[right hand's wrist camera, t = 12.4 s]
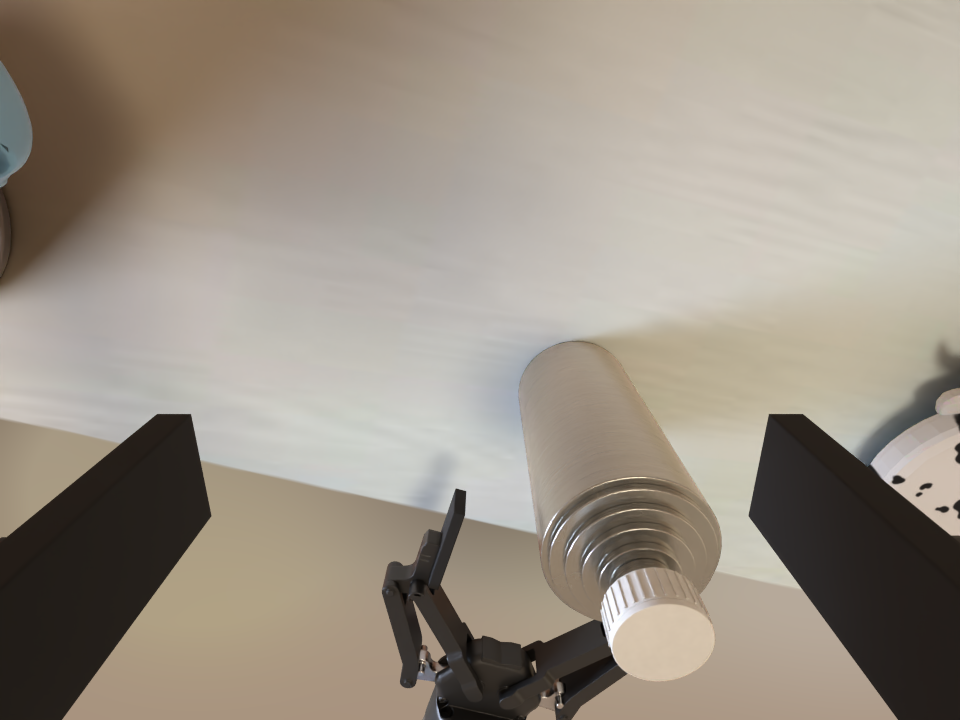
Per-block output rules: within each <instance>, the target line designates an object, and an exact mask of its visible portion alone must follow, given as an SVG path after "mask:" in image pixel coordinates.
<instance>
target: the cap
mask: <svg viewBox="0 0 960 720" xmlns="http://www.w3.org/2000/svg"><path fill="white" fill-rule="evenodd" d="M601 604H602V610H601V615H602V621H603V625H604V629H605V633H606V637H607V641H608V645H609V647H611V651H612V654H613V657H614V659H615V661H616V662H617V664H618V665H619V666H620V667H621V668H622V669H623V670H624V671H625V672H626V673H628V674H630V675H632V676H634V677H636V678H639V679H642V680H647V681H669V680H674V679H678V678H681V677H683V676H686V675H688V674H690V673H692V672H694V671H695V670H697V669H698V668H699V667H701V666H702V665H703V664H704V663H705V662H706V661H707V659H708V658H709V657H710V655H711V653H712V651H713V648H714V645H715V632H714V629H713V626H712V621H711V619H710V617H709V614H708V612H707V610H706V608H705V605H704V603H703V601H702V599H701V597H700V595H699V593H698V591H697V589H696V587H695V588H694V586H693V584H692V582H691V581H689V580H688V579H687V578H686V577H685V576H684V575H683V576H682V575H681V574H679V573H677V571H673V570H670V569H666V568H657V567H650V568H643V569H638V570H634V571H632V572H630V573H628V574H625V575H624V576H622V577H620V578H619V579H617V580H616V581H615V582H614V583H613V584H612V585H611V586H610V587H609V589H608V590H607V592H606V594H604V599H603V602H601Z"/></svg>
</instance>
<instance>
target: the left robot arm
mask: <svg viewBox="0 0 960 720" xmlns="http://www.w3.org/2000/svg"><path fill="white" fill-rule="evenodd" d="M32 140H33V134H32V126H31V122H30V118H29V115H28V112H27V108H26V106H25V103H24V101H23V99H22V96H21V94H20V92H19V90H18V88H17V86H16V85H15V83H14V81H13V79H12V78H11V76H10V74H9V73H8V71H7V70H6V68H5V66H4V65H3V63H2V62H1V60H0V277H1V276H2V274H3V271H4V269H5V267H6V264H7V261H8V257H9V253H10V247H11V224H10V217H9V212H8V208H7V204H6V200H5V197H4V194H3V191H2V189H1V187H3V186H4V185H5V184H6V183H7V179H8V177H10V175H12V174H13V173H15V172H16V171H18V170H19V169H20V168H21V167H22V166H23V165H24V164H25V163H26V161H27V159H28V157H29V155H30V152H31V149H32ZM465 504H466V491H463V490H459V489H455V492H454V495H453V498H452V501H451V504H450V507H449V510H448V513H447V516H446V519H445V522H444V525H443V528H442V530H441V532H438V531H434V530H430V529H429V530H428V531H427V532H426V533H425V534H424V537H423V540H422V543H421V546H420V549H419V552H418V555H417V558H416V561H415V562H414V563H413V564H411V565H408V566H403V565H402V564H401V563H399V562H391V563H389V565H388V567H387V571H386V576H385V580H384V584H383V588H382V595H383V598H384V601H385V605H386V608H387V612H388V615H389V619H390V622H391V625H392V629H393V632H394V636H395V639H396V643H397V646H398V650H399V653H400V656H401V660H402V663H403V666H402V672H401V679H400V684H401V685H402V686H403V687H405V688H412V687H414V686H415V684H416V681H417V679H420V680H428V681H434V682H435V684H436V685H435V688H434V691H433V693H432V696H431V698H430V701H429V704H428V706H427V709H426V713H425V716H424V718H423V720H526V717H527V715H528V714H529V713H530V712H531V711H533V710H534V709H536V708H537V707H538V706H541V707H544V708H547V709H550V710H553V711H555V714H556V720H571V719H572V718H573V717H574V715H575V714H576V712H577V711H578V709H579V708H580V707H581V706H582V705H583V704H585V703H586V702H588V701H589V700H590V699H592V698H593V697H595V696H596V695H598V694H599V693H600V692H602V691H603V690H605V689H606V688H608V687H609V686H611V685H612V684H613V683H615V682H616V681H618V680H619V679H621V678H622V677H623V676H625V675H626V674H628V673H626V672H625V671H624V670H623V669H622V668H621V667H620V666H619V665H618V664H617V662H616V661H615V659H614V657H613V654H612V651H611V647H609V645H608V641H607V637H606V633H605V629H604V625H603V622H601V621H598V620H593V621H591V622H588V623H586V624H584V625H582V626H580V627H578V628H575V629H573V630H571V631H569V632H567V633H565V634H563V635H561V636H558V637H556V638H554V639H552V640H550V641H548V642H545V643H543V642H542V641H536V642H534V643H531V644H529V645H527V646H525V647H523V648H521V645H520V644H516V643H512V642H500V641H498V640H495V639H493V638H491V637H487V636H482V638H481V639H474V637H473V636H472V634H471V632H470V630H469V629H468V627H467V625H466V623H464V622H463V623H462V622H461V620H460V618H459V617H458V615H457V613H456V611H455V610H454V608H453V606H452V604H451V603H450V601H449V599H448V597H447V596H446V594H445V592H444V590H443V589H442V587H441V585H440V584H441V581H442V578H443V575H444V572H445V570H446V567H447V564H448V561H449V558H450V556H451V553H452V550H453V547H454V544H455V542H456V539H457V536H458V533H459V530H460V527H461V525H462V522H463V519H464V516H465ZM413 601H414V602H415V603H416V605H417V607H418V608H419V610H420V611H421V613H422V615H423V617H424V618H425V620H426V622H427V623H428V625H429V627H430V628H431V630H432V632H433V633H434V635H435V636H436V638H437V640H438V641H439V643H440V645H441V646H442V648H443V650H444V651H445V653H446V655H445V656H443V657H442V658H441V659H440V660H439V661H438V662H435V661H433V660H432V659H431V656H430V653H429V652H428V651H427V646H426V645H422V634H421V630H420V626H419V623H418V619H417V615H416V611H415V608H414V604H413ZM535 660H536V669H537V672H535V670H534V667H533V665H532V663H531V662H533V661H535Z"/></svg>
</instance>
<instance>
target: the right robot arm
mask: <svg viewBox="0 0 960 720" xmlns="http://www.w3.org/2000/svg"><path fill="white" fill-rule="evenodd" d="M210 517H211V512H210V507H209V502H208V497H207V492H206V487H205V482H204V477H203V472H202V467H201V462H200V457H199V452H198V447H197V442H196V437H195V432H194V427H193V422H192V417H191V414H157V415H156V416H154V417H153V418H152V419H151V420H149V421H148V422H147V423H146V424H145V425H143V426H142V427H141V428H140V429H138V430H137V431H136V432H135V433H134V434H132V435H131V436H130V437H129V438H127V439H126V440H125V441H124V442H123V443H121V444H120V445H119V446H118V447H117V448H115V449H114V450H113V451H112V452H110V453H109V454H108V455H107V456H105V457H104V458H103V459H102V460H101V461H99V462H98V463H97V464H96V465H95V466H93V467H92V468H91V469H90V470H88V471H87V472H86V473H85V474H83V475H82V476H81V477H80V478H79V479H77V480H76V481H75V482H74V483H72V484H71V485H70V486H69V487H68V488H66V489H65V490H64V491H63V492H62V493H60V494H59V495H58V496H57V497H55V498H54V499H53V500H52V501H51V502H49V503H48V504H47V505H46V506H44V507H43V508H42V509H41V510H39V511H38V512H37V513H36V514H35V515H33V516H32V517H31V518H30V519H29V520H27V521H26V522H25V523H24V524H22V525H21V526H20V527H19V528H17V529H16V530H15V531H14V532H13V533H11V534H10V535H9V536H8V537H2V538H0V720H62V719H63V718H64V716H65V715H66V713H67V712H68V711H69V709H70V708H71V707H72V705H73V704H74V703H75V701H76V700H77V698H78V697H79V696H80V694H81V693H82V692H83V690H84V689H85V688H86V686H87V685H88V683H89V682H90V681H91V679H92V678H93V677H94V675H95V674H96V673H97V671H98V670H99V668H100V667H101V666H102V664H103V663H104V662H105V660H106V659H107V658H108V656H109V655H110V653H111V652H112V651H113V649H114V648H115V647H116V645H117V644H118V643H119V641H120V640H121V638H122V637H123V636H124V634H125V633H126V632H127V630H128V629H129V628H130V626H131V625H132V623H133V622H134V621H135V619H136V618H137V617H138V615H139V614H140V613H141V611H142V610H143V608H144V607H145V606H146V604H147V603H148V602H149V600H150V599H151V598H152V596H153V595H154V593H155V592H156V591H157V589H158V588H159V587H160V585H161V584H162V583H163V581H164V580H165V579H166V577H167V576H168V574H169V573H170V572H171V570H172V569H173V568H174V566H175V565H176V564H177V562H178V561H179V559H180V558H181V557H182V555H183V554H184V553H185V551H186V550H187V549H188V547H189V546H190V544H191V543H192V542H193V540H194V539H195V538H196V536H197V535H198V533H199V532H200V531H201V529H202V528H203V527H204V525H205V524H206V523H207V521H208V520H209V519H210ZM749 517H750V519H751V520H752V521H753V523H754V524H755V525H756V527H757V528H758V529H759V531H760V532H761V534H762V535H763V536H764V538H765V539H766V540H767V542H768V543H769V544H770V546H771V547H772V549H773V550H774V551H775V553H776V554H777V555H778V557H779V558H780V559H781V561H782V562H783V564H784V565H785V566H786V568H787V569H788V570H789V572H790V573H791V574H792V576H793V577H794V579H795V580H796V581H797V583H798V584H799V585H800V587H801V588H802V589H803V591H804V592H805V594H806V595H807V596H808V598H809V599H810V600H811V602H812V603H813V604H814V606H815V607H816V608H817V610H818V611H819V613H820V614H821V615H822V617H823V618H824V619H825V621H826V622H827V623H828V625H829V626H830V627H831V629H832V630H833V632H834V633H835V634H836V636H837V637H838V638H839V640H840V641H841V643H842V644H843V645H844V647H845V648H846V649H847V651H848V652H849V653H850V655H851V656H852V658H853V659H854V660H855V662H856V663H857V664H858V666H859V667H860V668H861V670H862V671H863V673H864V674H865V675H866V677H867V678H868V679H869V681H870V682H871V683H872V685H873V686H874V688H875V689H876V690H877V692H878V693H879V694H880V696H881V697H882V698H883V700H884V701H885V703H886V704H887V705H888V707H889V708H890V709H891V711H892V712H893V713H894V715H895V716H896V717H897V719H898V720H960V536H959V535H950V534H949V533H947V532H946V531H945V530H944V529H943V528H941V527H940V526H939V525H938V524H936V523H935V522H934V521H933V520H932V519H930V518H929V517H928V516H927V515H925V514H924V513H923V512H922V511H921V510H919V509H918V508H917V507H916V506H914V505H913V504H912V503H911V502H910V501H908V500H907V499H906V498H905V497H903V496H902V495H901V494H900V493H899V492H897V491H896V490H895V489H894V488H892V487H891V486H890V485H889V484H888V483H886V482H885V481H884V480H883V479H881V478H880V477H879V476H878V475H877V474H875V473H874V472H873V471H872V470H870V469H869V468H868V467H867V466H866V465H864V464H863V463H862V462H861V461H859V460H858V459H857V458H856V457H855V456H853V455H852V454H851V453H850V452H848V451H847V450H846V449H845V448H844V447H842V446H841V445H840V444H839V443H837V442H836V441H835V440H834V439H833V438H831V437H830V436H829V435H828V434H826V433H825V432H824V431H823V430H822V429H820V428H819V427H818V426H817V425H815V424H814V423H813V422H812V421H811V420H809V419H808V418H807V417H806V416H804V415H803V414H769V417H768V422H767V427H766V432H765V437H764V442H763V447H762V452H761V457H760V462H759V467H758V472H757V477H756V482H755V487H754V492H753V497H752V502H751V507H750V512H749Z"/></svg>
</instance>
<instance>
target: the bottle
mask: <svg viewBox="0 0 960 720" xmlns="http://www.w3.org/2000/svg"><path fill="white" fill-rule="evenodd" d="M519 404H520V412H521V419H522V426H523V434H524V441H525V448H526V455H527V463H528V470H529V477H530V485H531V492H532V499H533V507H534V514H535V521H536V529H537V536H538V543H539V550H540V558H541V564H542V570H543V573H544V576H545V579H546V580H547V582H548V584H549V586H550V588H551V589H552V590H553V592H554V593H555V594H556V595H557V596H558V597H559V598H560V599H561V600H562V601H563V602H564V603H565V604H566V605H568V606H569V607H570V608H572V609H574V610H576V611H577V612H579V613H581V614H583V615H585V616H587V617H589V618H592V619H594V620H598V621H601V622H603V621H602V615H601V610H602V604H601V602H603V599H604V594H606V592H607V590H608V589H609V587H610V586H611V585H612V584H613V583H614V582H615V581H616V580H617V579H619V578H620V577H622V576H624V575H625V574H628V573H630V572H632V571H634V570H638V569H643V568H650V567H657V568H666V569H670V570H673V571H677V573H679V574H681V575H682V576H683V575H684V576H685V577H686V578H687V579H688V580H689V581H691V582H692V584H693V586H694V588H695V587H696V589H697V591H698V593H699V595H700V593H701V592H702V591H703V590H704V589H705V587H706V586H707V584H708V583H709V581H710V580H711V577H712V575H713V574H714V571H715V569H716V567H717V565H718V562H719V558H720V554H721V547H722V545H721V532H720V527H719V524H718V521H717V519H716V517H715V515H714V513H713V511H712V510H711V508H710V506H709V505H708V503H707V502H706V500H705V498H704V497H703V495H702V494H701V492H700V490H699V489H698V487H697V486H696V484H695V482H694V481H693V479H692V478H691V476H690V474H689V473H688V471H687V470H686V468H685V466H684V465H683V463H682V462H681V460H680V458H679V457H678V455H677V454H676V452H675V451H674V449H673V447H672V446H671V444H670V443H669V441H668V439H667V438H666V436H665V435H664V433H663V431H662V430H661V428H660V427H659V425H658V423H657V422H656V420H655V419H654V417H653V415H652V414H651V412H650V411H649V409H648V407H647V406H646V404H645V403H644V401H643V399H642V398H641V396H640V395H639V393H638V391H637V390H636V388H635V387H634V385H633V383H632V382H631V380H630V379H629V377H628V375H627V374H626V372H625V371H624V369H623V367H622V366H621V364H620V363H619V362H618V360H617V359H616V358H615V357H614V356H613V355H612V354H611V353H610V352H608V351H607V350H605V349H603V348H602V347H600V346H597V345H595V344H591V343H587V342H579V341H575V342H565V343H561V344H557V345H554V346H552V347H550V348H548V349H546V350H544V351H543V352H541V353H540V354H539V355H537V356H536V357H535V358H534V359H533V360H532V361H531V362H530V364H529V365H528V366H527V368H526V369H525V371H524V373H523V375H522V377H521V381H520V384H519Z"/></svg>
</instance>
